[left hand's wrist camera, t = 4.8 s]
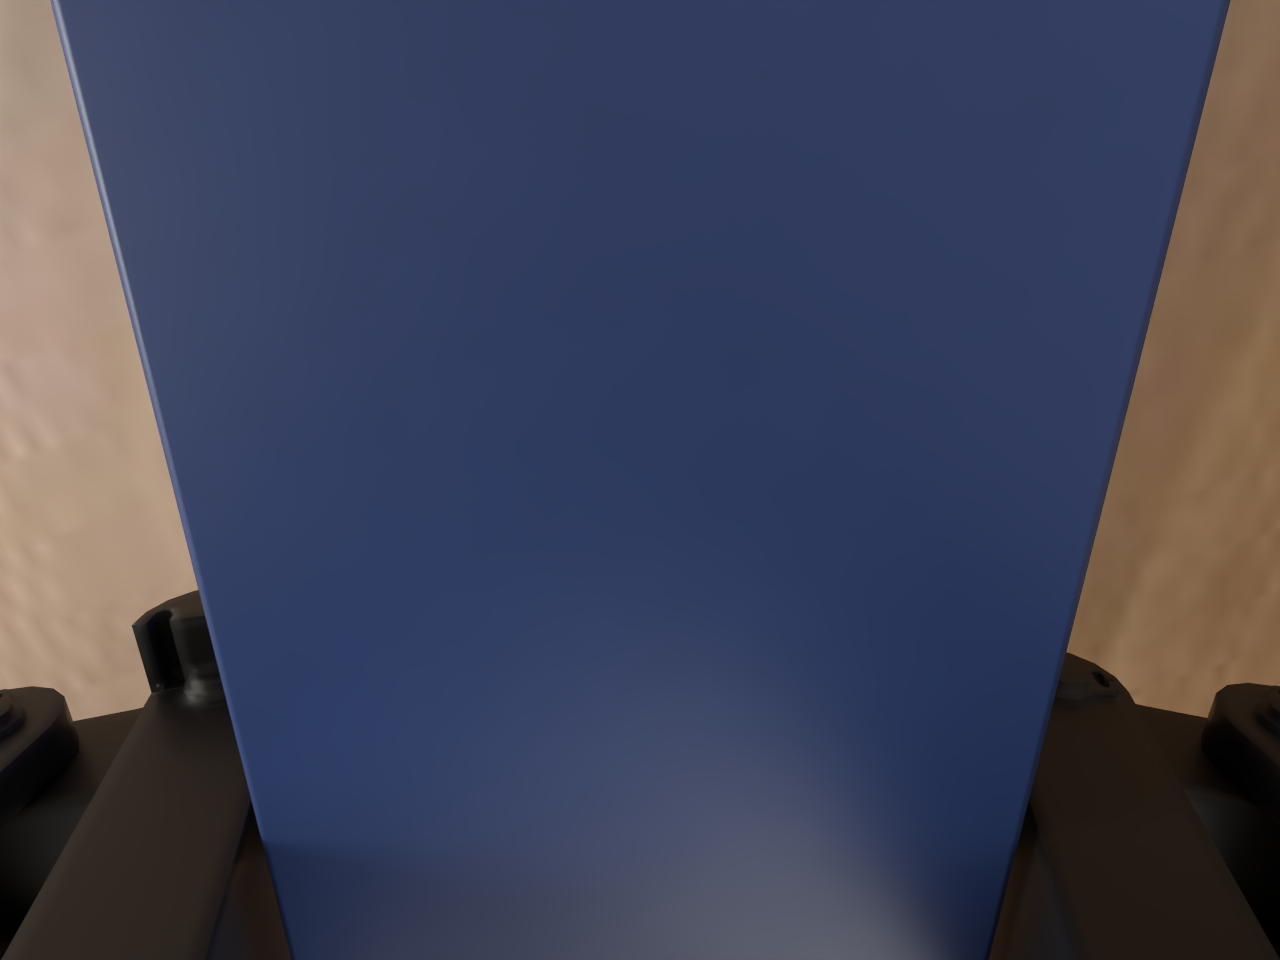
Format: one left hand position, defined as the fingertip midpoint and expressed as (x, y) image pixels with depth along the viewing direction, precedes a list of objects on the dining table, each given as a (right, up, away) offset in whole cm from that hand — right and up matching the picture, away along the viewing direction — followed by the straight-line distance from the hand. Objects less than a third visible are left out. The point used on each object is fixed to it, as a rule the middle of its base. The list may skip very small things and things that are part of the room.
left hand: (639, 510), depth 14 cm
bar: (0, +14, -5) cm, 14 cm away
